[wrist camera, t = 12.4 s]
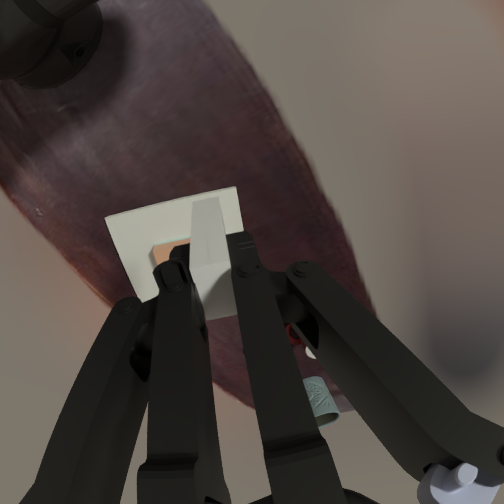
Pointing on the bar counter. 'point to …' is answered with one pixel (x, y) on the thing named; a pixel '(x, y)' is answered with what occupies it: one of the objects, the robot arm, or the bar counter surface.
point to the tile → (167, 248)
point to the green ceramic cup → (321, 401)
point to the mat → (162, 233)
